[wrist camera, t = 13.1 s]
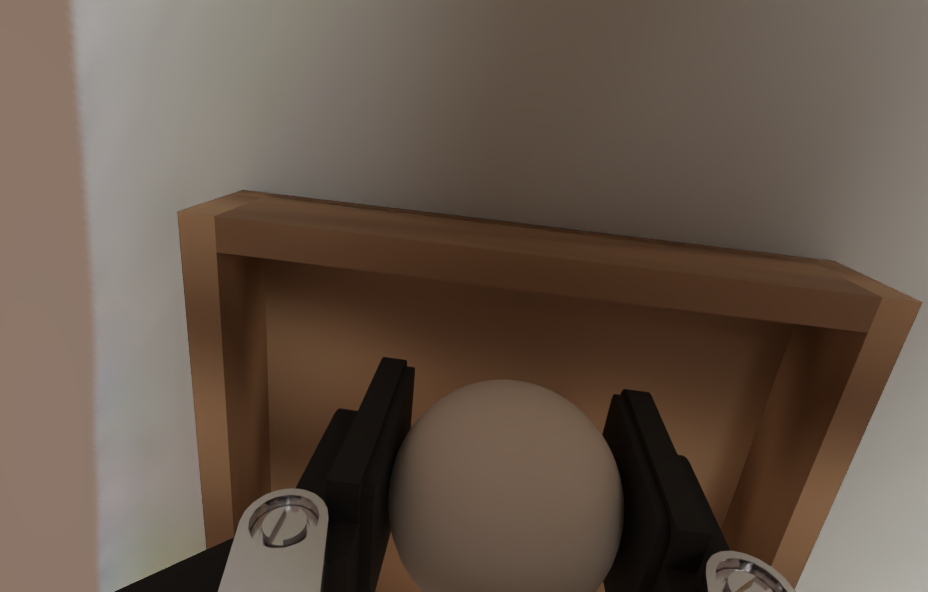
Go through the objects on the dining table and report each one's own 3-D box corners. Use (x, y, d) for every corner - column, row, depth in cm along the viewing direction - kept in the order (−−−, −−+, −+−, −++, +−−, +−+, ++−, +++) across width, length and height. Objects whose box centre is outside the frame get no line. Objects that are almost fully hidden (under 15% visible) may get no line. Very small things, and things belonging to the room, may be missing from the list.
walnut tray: (242, 189, 14) (177, 211, 11) (834, 261, 13) (922, 302, 11) (262, 648, 20) (222, 737, 17) (668, 707, 20) (696, 808, 17)
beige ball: (415, 327, 11) (365, 472, 7) (620, 353, 11) (688, 514, 7) (403, 485, 13) (358, 672, 9) (580, 508, 13) (616, 709, 9)
